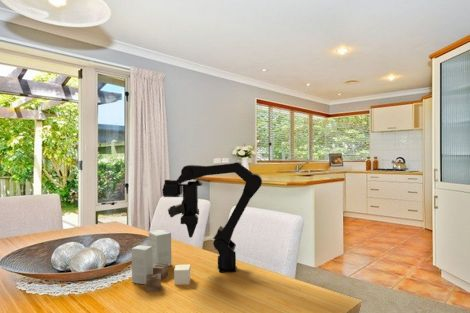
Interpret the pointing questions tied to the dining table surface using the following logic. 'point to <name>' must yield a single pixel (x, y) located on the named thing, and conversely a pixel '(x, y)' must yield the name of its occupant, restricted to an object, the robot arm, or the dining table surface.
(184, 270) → the cream block
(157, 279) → the walnut block
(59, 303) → the dining table surface
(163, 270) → the walnut block
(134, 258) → the skincare box
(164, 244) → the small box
